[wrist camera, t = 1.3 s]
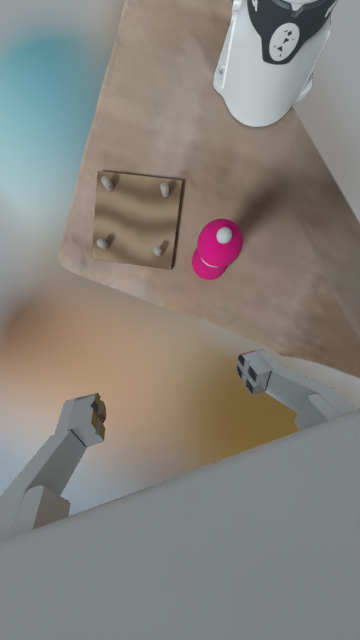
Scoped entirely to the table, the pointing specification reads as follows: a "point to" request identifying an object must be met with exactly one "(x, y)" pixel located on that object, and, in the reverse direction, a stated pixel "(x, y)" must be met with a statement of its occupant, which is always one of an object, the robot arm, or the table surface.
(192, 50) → the table surface
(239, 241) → the pepper mill
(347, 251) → the table surface
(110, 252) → the pin base
